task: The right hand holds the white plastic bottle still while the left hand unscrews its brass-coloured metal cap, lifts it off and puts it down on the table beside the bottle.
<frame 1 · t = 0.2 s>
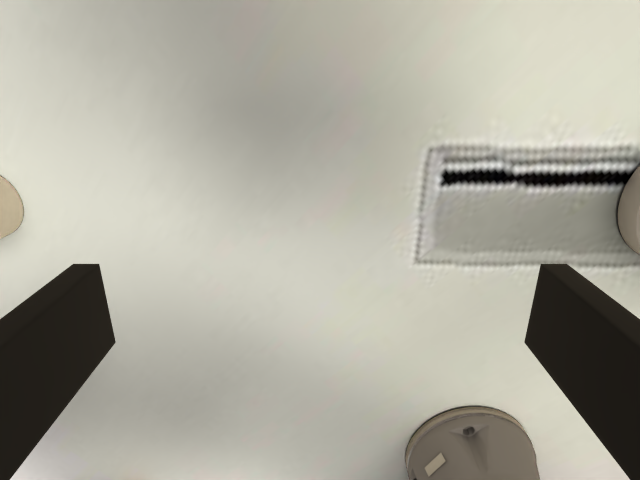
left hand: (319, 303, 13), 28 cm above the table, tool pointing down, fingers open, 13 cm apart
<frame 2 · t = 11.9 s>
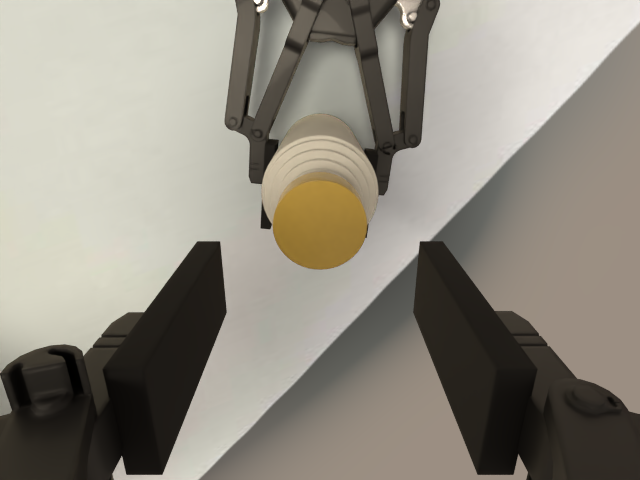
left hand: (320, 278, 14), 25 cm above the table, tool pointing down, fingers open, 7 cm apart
right hand: (314, 227, 34), fingers closed on bottle, 7 cm apart
bottle: (319, 152, 38), on the table, touching right hand
cap: (319, 224, 20), point 20 cm above the table, screwed on, not yet turned
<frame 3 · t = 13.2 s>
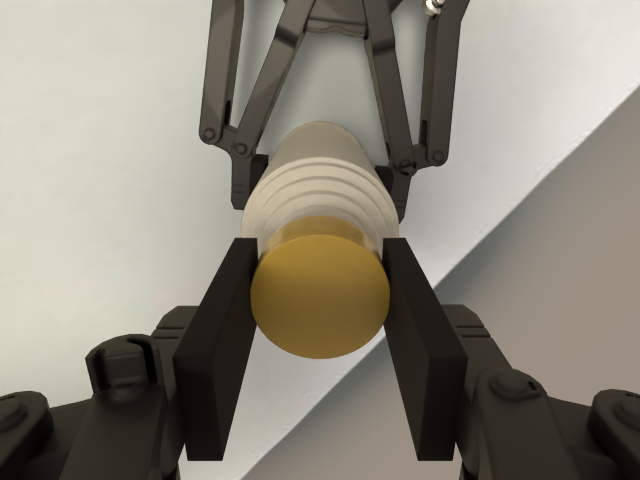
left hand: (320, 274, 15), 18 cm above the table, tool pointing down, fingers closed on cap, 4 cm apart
right hand: (312, 261, 28), fingers closed on bottle, 7 cm apart
bottle: (320, 168, 32), on the table, touching right hand
cap: (320, 296, 13), point 20 cm above the table, screwed on, not yet turned, touching left hand
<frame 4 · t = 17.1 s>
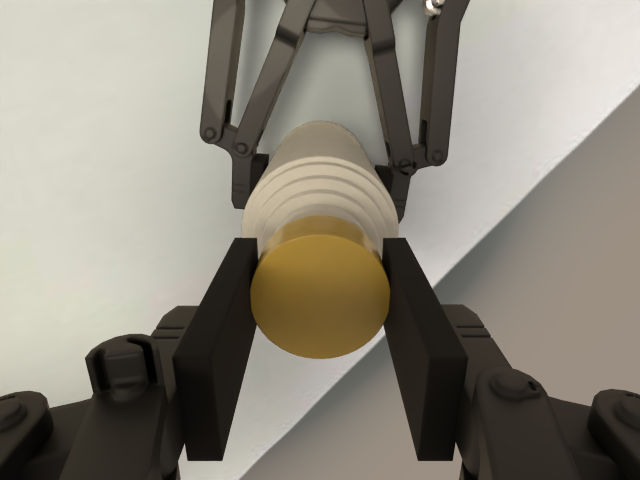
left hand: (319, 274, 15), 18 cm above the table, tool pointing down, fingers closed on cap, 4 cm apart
right hand: (312, 260, 28), fingers closed on bottle, 7 cm apart
bottle: (320, 167, 32), on the table, touching right hand
cap: (320, 295, 13), point 20 cm above the table, turned 121° so far, risen 0.1 cm, still on its thread, touching left hand
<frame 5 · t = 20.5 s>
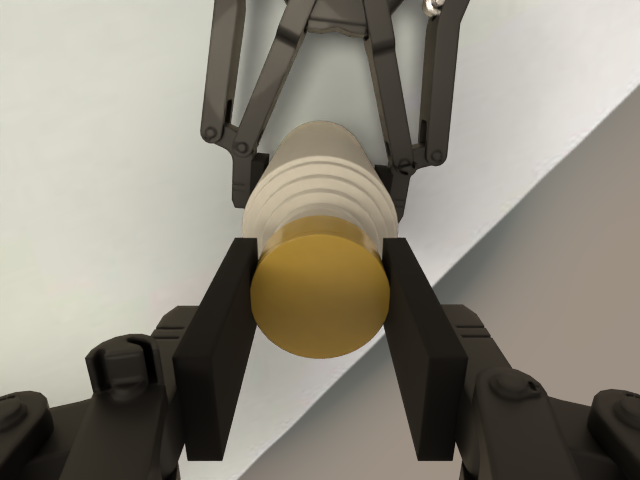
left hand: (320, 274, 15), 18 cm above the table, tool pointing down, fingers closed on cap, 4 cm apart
right hand: (312, 259, 28), fingers closed on bottle, 7 cm apart
bottle: (320, 167, 32), on the table, touching right hand
cap: (320, 295, 13), point 20 cm above the table, turned 242° so far, risen 0.2 cm, still on its thread, touching left hand
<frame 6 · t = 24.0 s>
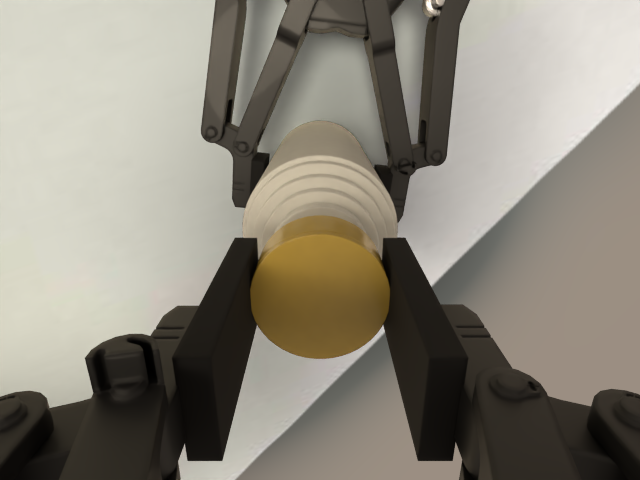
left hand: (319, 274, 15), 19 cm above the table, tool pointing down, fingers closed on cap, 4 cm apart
right hand: (312, 258, 28), fingers closed on bottle, 7 cm apart
bottle: (320, 167, 32), on the table, touching right hand
cap: (320, 295, 13), point 20 cm above the table, turned 364° so far, risen 0.4 cm, still on its thread, touching left hand
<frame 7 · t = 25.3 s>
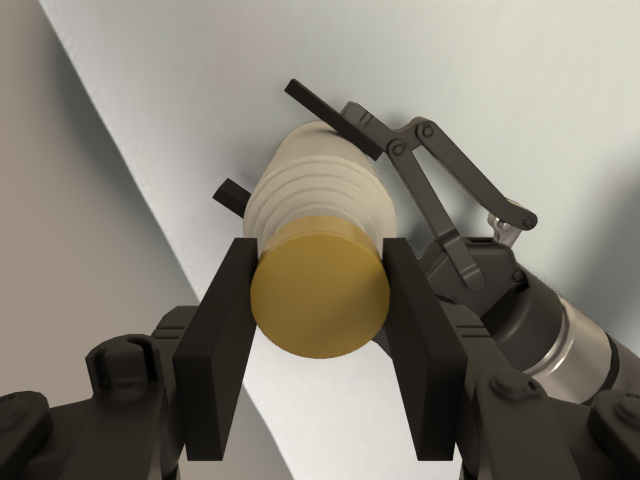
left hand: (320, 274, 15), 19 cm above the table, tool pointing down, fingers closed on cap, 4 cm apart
right hand: (253, 138, 25), fingers closed on bottle, 7 cm apart
bottle: (320, 167, 32), on the table, touching right hand
cap: (320, 295, 13), point 20 cm above the table, off its thread, touching left hand
when the left hand's fingers open (1 cm above the table, at t = 30.9 s): cap drops 1 cm, point 2 cm above the table.
when the right hand's fingers open (6 cm above the table, at t = 32.1 s): bottle stays where it is, on the table.
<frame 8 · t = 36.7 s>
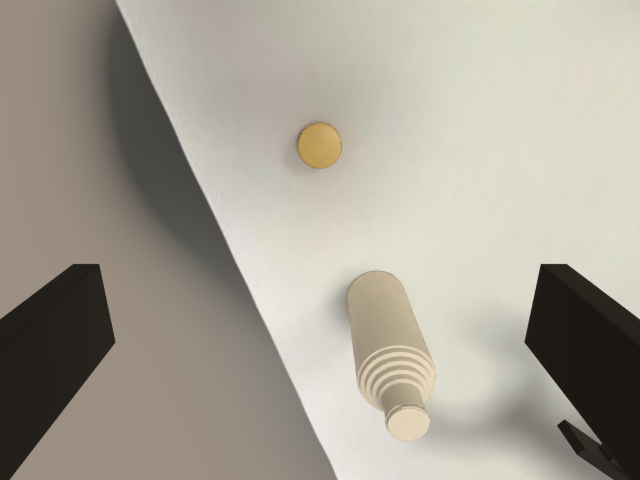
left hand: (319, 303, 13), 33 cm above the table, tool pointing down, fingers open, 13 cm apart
bottle: (375, 296, 50), on the table
cap: (319, 146, 42), point 2 cm above the table, off its thread
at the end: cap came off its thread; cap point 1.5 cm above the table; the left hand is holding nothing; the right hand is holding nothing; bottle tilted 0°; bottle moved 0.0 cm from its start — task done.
